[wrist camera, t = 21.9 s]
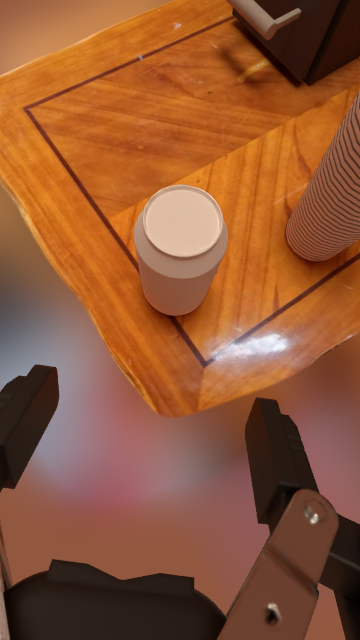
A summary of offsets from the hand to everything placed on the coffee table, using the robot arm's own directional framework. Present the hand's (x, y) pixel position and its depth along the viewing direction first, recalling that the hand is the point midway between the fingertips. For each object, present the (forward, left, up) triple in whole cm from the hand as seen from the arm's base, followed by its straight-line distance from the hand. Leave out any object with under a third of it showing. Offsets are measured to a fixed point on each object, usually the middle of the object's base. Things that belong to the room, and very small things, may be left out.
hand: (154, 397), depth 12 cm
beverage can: (-7, +7, -16) cm, 19 cm away
